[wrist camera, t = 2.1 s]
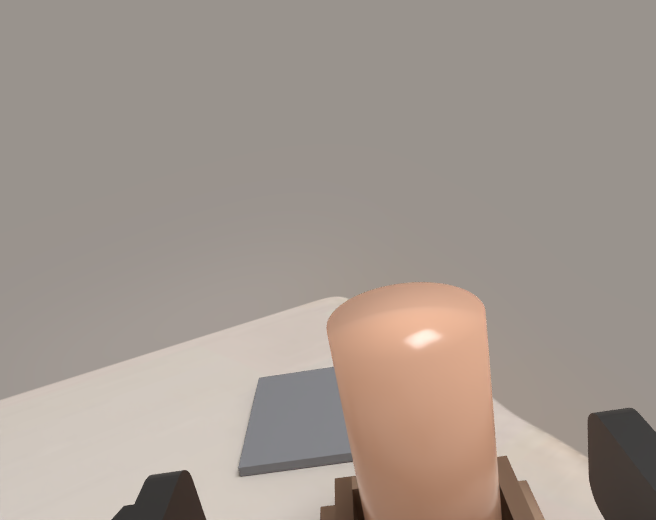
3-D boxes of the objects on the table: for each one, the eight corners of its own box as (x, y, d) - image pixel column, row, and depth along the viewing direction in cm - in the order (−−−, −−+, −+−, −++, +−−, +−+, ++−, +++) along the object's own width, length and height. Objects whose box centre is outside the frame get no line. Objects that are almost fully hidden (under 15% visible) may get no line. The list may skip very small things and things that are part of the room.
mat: (240, 476, 39) (238, 468, 39) (260, 384, 51) (259, 377, 50) (399, 455, 39) (397, 446, 38) (384, 366, 50) (382, 359, 50)
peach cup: (527, 649, 24) (507, 343, 18) (387, 664, 24) (325, 370, 19) (475, 494, 32) (451, 253, 27) (372, 507, 33) (327, 273, 27)
